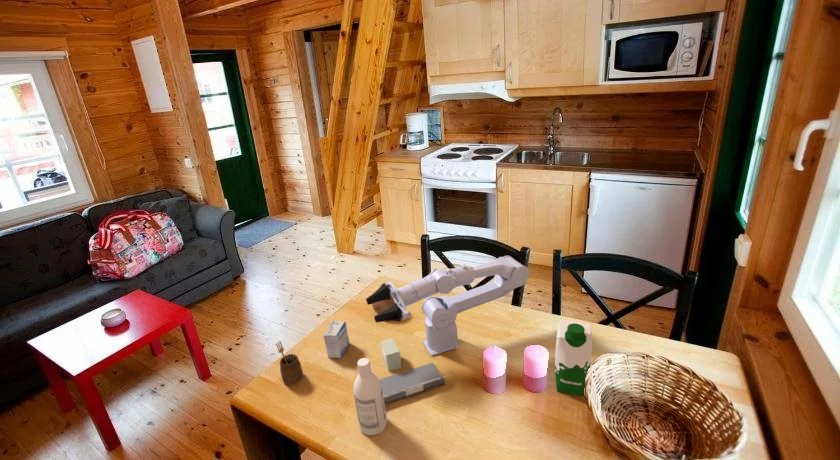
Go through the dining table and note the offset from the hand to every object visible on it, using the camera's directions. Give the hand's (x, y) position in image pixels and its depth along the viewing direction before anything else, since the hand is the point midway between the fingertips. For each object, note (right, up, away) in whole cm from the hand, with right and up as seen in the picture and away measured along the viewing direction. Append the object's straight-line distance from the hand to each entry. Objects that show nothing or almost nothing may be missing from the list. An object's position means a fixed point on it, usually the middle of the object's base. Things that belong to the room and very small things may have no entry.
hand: (370, 310), depth 116 cm
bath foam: (+2, -26, -14) cm, 30 cm away
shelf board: (+10, -21, -2) cm, 23 cm away
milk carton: (+55, -19, -6) cm, 59 cm away
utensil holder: (-24, -21, +4) cm, 32 cm away
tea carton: (+5, -17, +8) cm, 20 cm away
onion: (+2, -7, +33) cm, 34 cm away
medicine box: (-12, -16, +15) cm, 25 cm away
